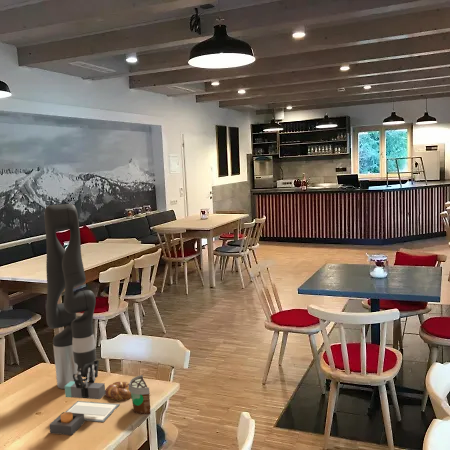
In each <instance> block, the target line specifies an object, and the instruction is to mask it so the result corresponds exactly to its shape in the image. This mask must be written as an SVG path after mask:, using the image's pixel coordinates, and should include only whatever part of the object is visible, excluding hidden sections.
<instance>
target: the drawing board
mask: <svg viewBox="0 0 450 450" xmlns="http://www.w3.org/2000/svg"><path fill="white" fill-rule="evenodd" d="M119 407H120V403H109V402H97V401H96V402H94V401H82V400H78V401H76V402H75V403H73V405H71V406H70V407H69V408H68V409H66V411H65V412H72V413H78V414H84V419H85V422H95V423H105V422H106V420H108V418H110V416H111V415H113V413H114V412H115V411H116V410H117V408H119ZM115 409H116V410H115ZM114 410H115V411H114Z"/></svg>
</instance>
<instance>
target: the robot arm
mask: <svg viewBox="0 0 450 450" xmlns="http://www.w3.org/2000/svg"><path fill="white" fill-rule="evenodd" d="M79 220H80V219H79V213H78V210H77V208H76V205H75V204H73V203H63V204H61V203H60V204H52V205H51V204H50V205H47V206H46V207H45V209H44V228H45V240H46V243H45V244H46V267H45V269H46V270H45V271H46V285H47V286H46V290H47V292H46V293H47V294H46V310H45V317H46V319H45V320H46V325H47V327H48V328H49V329H54V330H55V329H60V328H64V329H63V330H62V331H60V332H59V333H57V334H56V335H54V336H53V338H52V345H53V346H52V348H53V356H54V365H55V375H56V376H55V377H56V383H57V388H58V389H60V390H65V385H67V384H68V383H69V382H71V381H74V382H75V385H76V387H77V388H80V389H81V395H82V398H81V399H86V398H88V387H87V386H88V382H89V383H95V382H96V378H98V377H99V375H98V374H99V365H100V364H99V363H100V361H99V359H98V360H97V351H96V340H95V335H94V324H93V322H94V321H93V320H94V313H95V308H96V301H97V299H96V295H95V293H94V292H93V291H92V290H90V289H85V290H80V291H74V289H75V288H77V287H80V286H82V285H84V284H85V283H86V280H87V279H86V273H85V269H84V263H83V259H82V258H83V257H82V246H81V244H82V243H81V232H80V221H79ZM66 230H69V232H70V233H69V235H70V237H69V242H68V244H67V247H66V248H64V247H63V245H62V244H61V242H60V241H59V239H58V237H57V231H66ZM63 292H64V295H63V296H64V297H63V302H61V303H59V300H60V297H61V296H62V294H63ZM82 312H83V313H82ZM77 313H82V314H81V315H80V316H78V317H77ZM83 382H85V384H84V383H83ZM79 384H80V385H79Z"/></svg>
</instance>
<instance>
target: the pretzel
mask: <svg viewBox="0 0 450 450" xmlns="http://www.w3.org/2000/svg"><path fill="white" fill-rule="evenodd" d="M128 388H129V382H128V381H115V382H113V383H112V384H109V385H108V386H107V387H105V393H106V394H105V395H104V396H106V398H108V399H111V400H115V401H122V400H125V401H126V400H129V399H132V396H131V392H130V391H129V389H128Z"/></svg>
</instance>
